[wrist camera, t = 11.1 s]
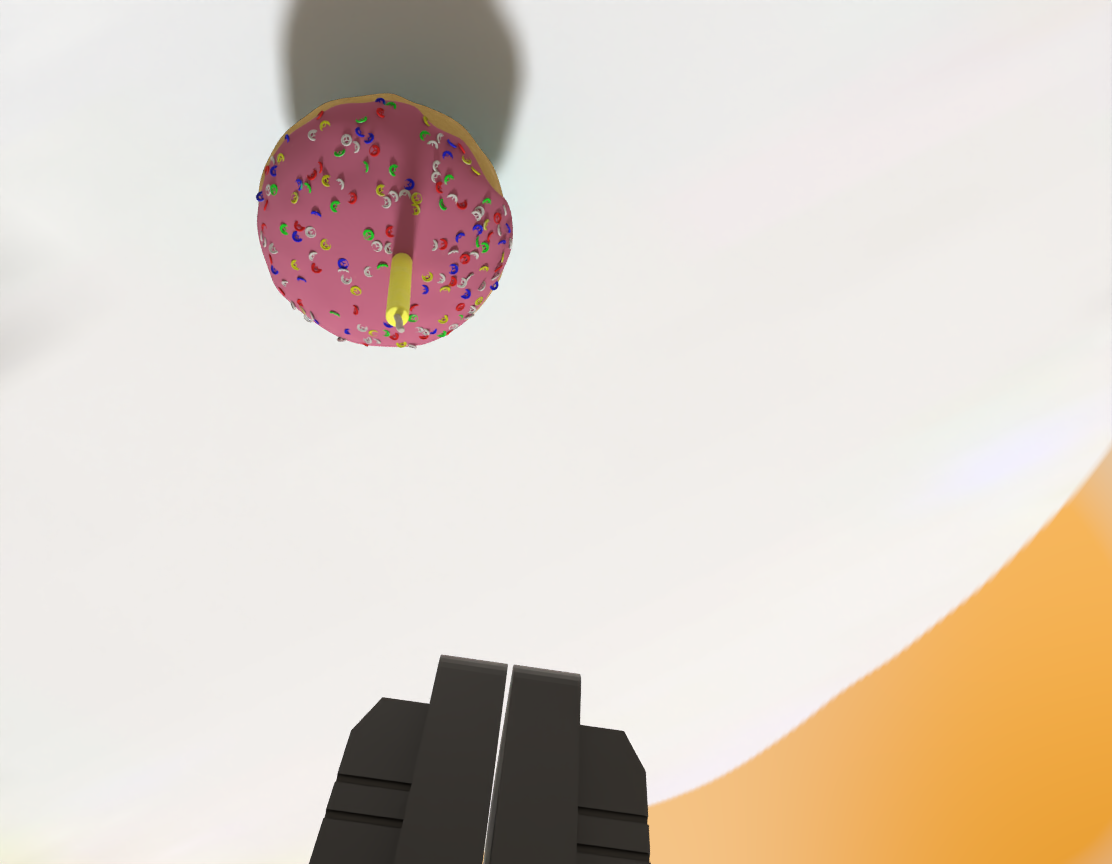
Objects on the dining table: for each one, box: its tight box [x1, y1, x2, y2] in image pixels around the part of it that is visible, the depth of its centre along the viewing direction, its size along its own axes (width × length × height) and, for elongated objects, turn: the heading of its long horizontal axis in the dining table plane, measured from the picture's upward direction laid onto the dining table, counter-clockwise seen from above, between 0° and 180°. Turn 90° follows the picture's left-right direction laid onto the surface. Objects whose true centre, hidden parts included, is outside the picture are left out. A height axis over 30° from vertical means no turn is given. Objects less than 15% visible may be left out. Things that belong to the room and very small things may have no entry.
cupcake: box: [256, 93, 513, 348], centre depth 32 cm, size 9×8×12 cm
